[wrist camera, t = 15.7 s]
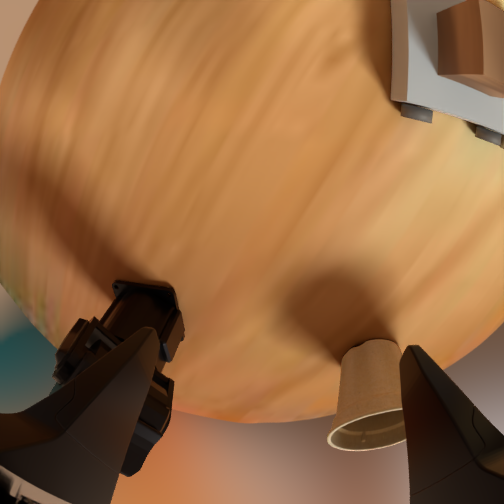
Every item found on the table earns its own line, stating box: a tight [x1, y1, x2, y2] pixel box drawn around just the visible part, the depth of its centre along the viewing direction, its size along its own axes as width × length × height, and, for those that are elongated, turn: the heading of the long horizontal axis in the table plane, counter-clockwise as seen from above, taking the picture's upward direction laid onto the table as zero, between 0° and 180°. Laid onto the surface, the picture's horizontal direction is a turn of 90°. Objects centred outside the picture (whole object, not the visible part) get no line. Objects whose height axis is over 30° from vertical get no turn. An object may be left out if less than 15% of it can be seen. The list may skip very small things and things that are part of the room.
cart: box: [390, 0, 504, 146], centre depth 10 cm, size 9×10×3 cm
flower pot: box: [327, 339, 406, 451], centre depth 22 cm, size 9×9×9 cm
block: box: [436, 0, 504, 98], centre depth 7 cm, size 4×4×4 cm
